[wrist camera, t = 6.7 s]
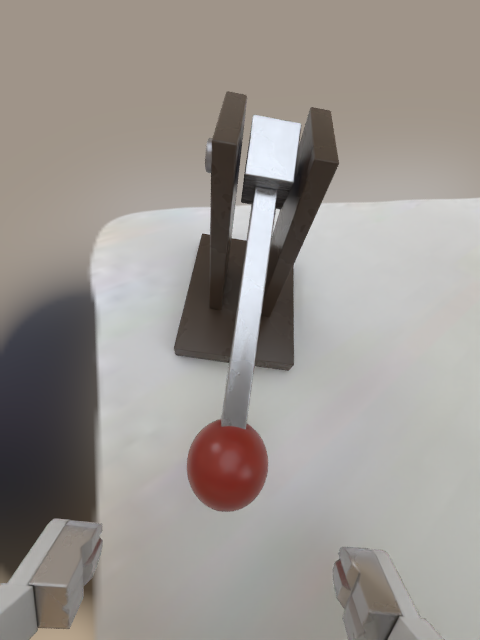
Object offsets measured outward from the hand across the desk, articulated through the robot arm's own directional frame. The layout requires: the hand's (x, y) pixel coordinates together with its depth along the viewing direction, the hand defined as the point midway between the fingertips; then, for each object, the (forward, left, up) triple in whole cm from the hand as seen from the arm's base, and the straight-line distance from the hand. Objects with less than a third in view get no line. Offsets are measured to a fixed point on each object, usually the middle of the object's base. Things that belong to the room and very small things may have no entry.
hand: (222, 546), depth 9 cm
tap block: (+3, -15, -8) cm, 17 cm away
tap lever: (+2, -9, 0) cm, 9 cm away
